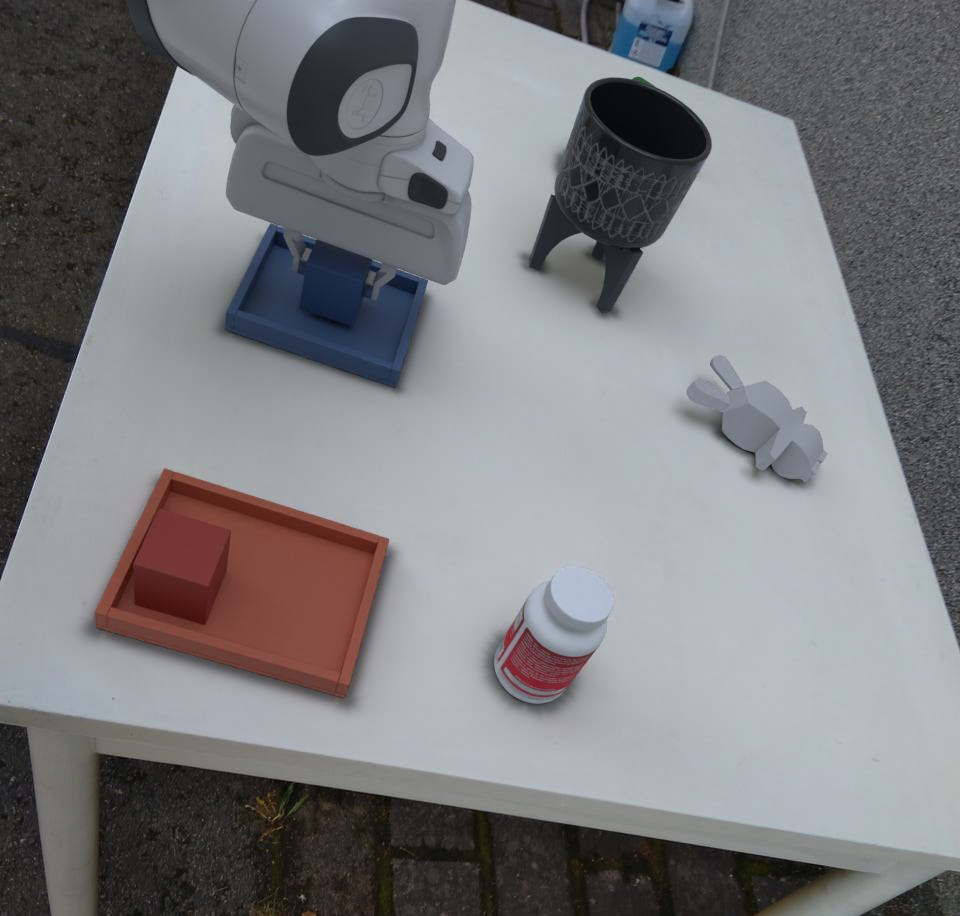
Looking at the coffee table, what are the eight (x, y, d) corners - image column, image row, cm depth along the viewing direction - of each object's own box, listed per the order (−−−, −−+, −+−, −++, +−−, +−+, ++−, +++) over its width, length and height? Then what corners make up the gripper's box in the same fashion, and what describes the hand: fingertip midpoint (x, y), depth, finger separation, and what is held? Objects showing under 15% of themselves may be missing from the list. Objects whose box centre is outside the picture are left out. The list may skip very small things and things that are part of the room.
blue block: (298, 308, 84) (306, 262, 80) (312, 275, 87) (320, 229, 82) (352, 327, 84) (362, 282, 80) (364, 294, 87) (375, 248, 83)
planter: (554, 220, 105) (618, 61, 90) (651, 281, 104) (731, 130, 90) (501, 269, 97) (561, 104, 83) (605, 336, 97) (684, 180, 82)
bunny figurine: (817, 479, 88) (697, 376, 88) (783, 509, 92) (668, 411, 92) (847, 429, 94) (734, 333, 94) (813, 459, 98) (704, 367, 98)
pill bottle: (575, 703, 72) (635, 630, 63) (502, 709, 70) (553, 634, 61) (555, 634, 75) (610, 555, 66) (484, 638, 73) (531, 556, 64)
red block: (134, 605, 65) (132, 563, 61) (158, 550, 68) (159, 507, 64) (205, 625, 66) (208, 586, 62) (226, 570, 68) (231, 529, 64)
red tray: (95, 627, 64) (94, 612, 62) (163, 484, 71) (164, 467, 70) (344, 698, 66) (349, 685, 65) (384, 553, 74) (389, 538, 72)
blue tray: (224, 329, 82) (225, 311, 80) (267, 240, 89) (270, 222, 88) (395, 388, 84) (400, 371, 82) (423, 296, 92) (428, 279, 90)
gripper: (220, 107, 69) (211, 263, 80) (480, 205, 72) (436, 342, 84) (245, 67, 73) (233, 222, 84) (492, 162, 76) (448, 299, 87)
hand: (336, 282), depth 84 cm, fingers closed on blue block, 5 cm apart
